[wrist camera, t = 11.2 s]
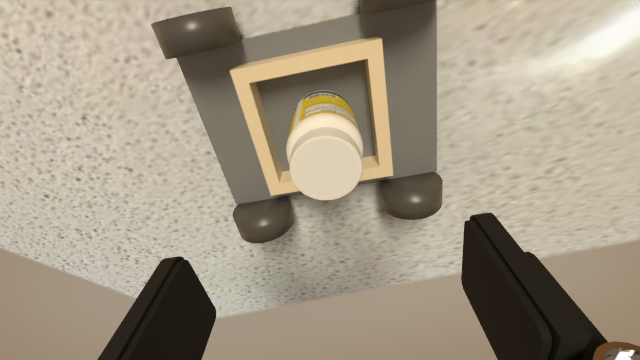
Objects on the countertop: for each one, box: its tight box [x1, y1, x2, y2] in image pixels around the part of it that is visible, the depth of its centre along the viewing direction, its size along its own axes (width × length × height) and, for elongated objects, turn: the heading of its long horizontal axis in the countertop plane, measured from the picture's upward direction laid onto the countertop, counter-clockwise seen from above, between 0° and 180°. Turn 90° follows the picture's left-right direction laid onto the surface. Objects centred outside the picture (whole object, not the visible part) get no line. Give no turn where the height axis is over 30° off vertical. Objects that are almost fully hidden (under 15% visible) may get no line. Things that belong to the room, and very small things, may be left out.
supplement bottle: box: [286, 90, 363, 200], centre depth 20 cm, size 5×5×8 cm
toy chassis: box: [151, 0, 442, 243], centre depth 23 cm, size 18×17×5 cm
